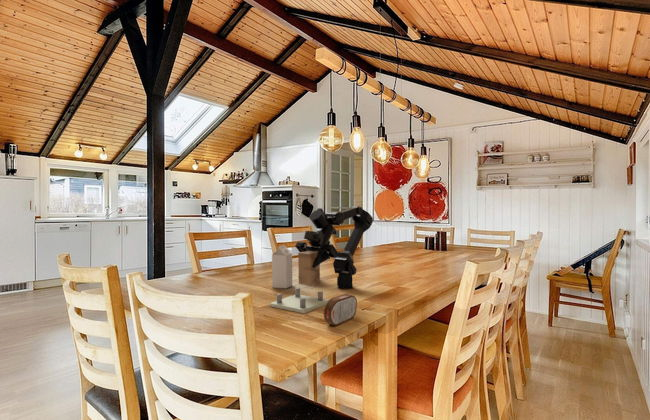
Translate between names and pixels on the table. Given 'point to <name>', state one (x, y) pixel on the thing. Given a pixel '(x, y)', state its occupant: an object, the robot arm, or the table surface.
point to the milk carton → (282, 268)
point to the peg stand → (299, 302)
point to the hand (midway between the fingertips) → (306, 266)
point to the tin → (340, 309)
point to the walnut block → (308, 268)
